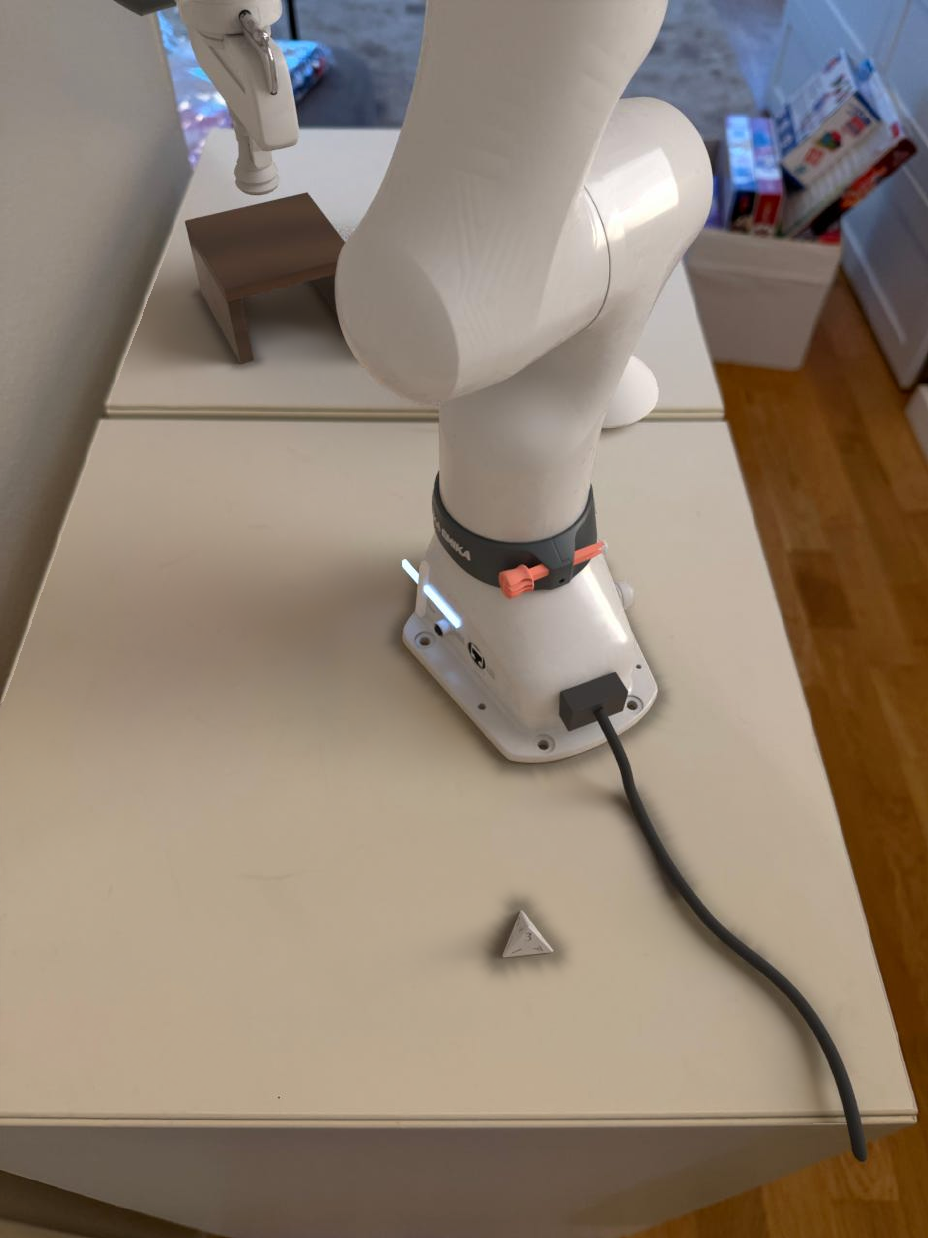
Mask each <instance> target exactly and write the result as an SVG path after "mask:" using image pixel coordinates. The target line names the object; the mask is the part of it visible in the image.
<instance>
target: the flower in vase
mask: <svg viewBox="0 0 928 1238" xmlns="http://www.w3.org/2000/svg"><path fill="white" fill-rule="evenodd" d="M658 401H659V387H658V382H657V379H656V377H655V374H654V373H653V372H652V370H651V369H650V368H649V367H648V366H647V365H646V364H645V363H644V362H643V360H641V359H639V357H637V356H635V355H634V354H632V355H631V357H630V359H629V361H628V364H627V366H626V368H625V370H624V372H623V375H622V377H621V379H620V381H619V384H618V386H617V388H616V390H615V392H614V395H613V397H612V399H611V402H610V404H609V407H608V410H607V412H606V415H605V419H604V422H603V425H602V429H615V428H621V427H627V426H630V425H632V424H635V423H637V422H639V421H641V420H642V419H643V418H645V417H646V416H648V415H649V414H650V413H651V412H652V411H653V410H654V409H655V407H656V406H657V403H658Z"/></svg>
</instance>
